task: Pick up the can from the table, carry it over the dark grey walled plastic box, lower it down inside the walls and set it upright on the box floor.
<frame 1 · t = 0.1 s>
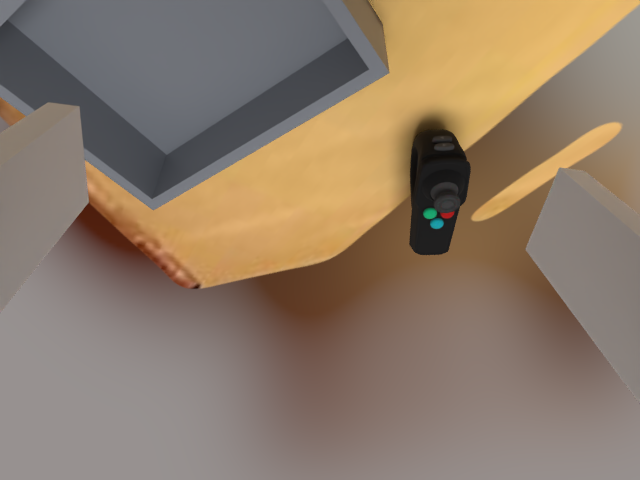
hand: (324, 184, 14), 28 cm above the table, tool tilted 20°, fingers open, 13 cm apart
controller: (426, 155, 49), on the table
box: (188, 16, 39), on the table
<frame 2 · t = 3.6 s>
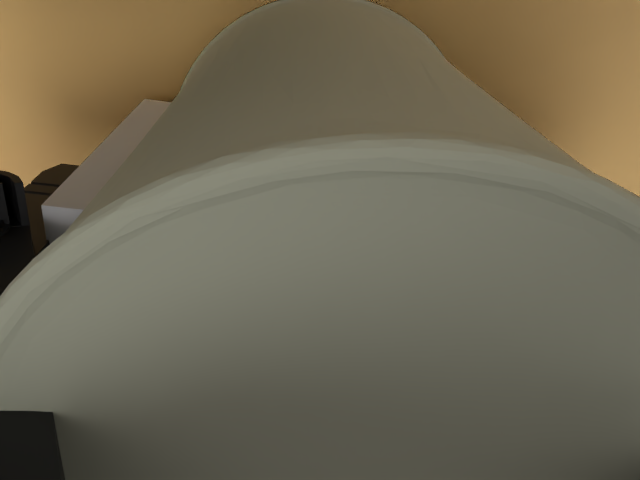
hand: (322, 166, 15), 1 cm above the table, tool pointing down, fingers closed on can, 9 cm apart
can: (320, 152, 16), on the table, touching gripper
when the fingers open (3 cm above the table, at t = 9.5 s): can drops 1 cm, resting on box.
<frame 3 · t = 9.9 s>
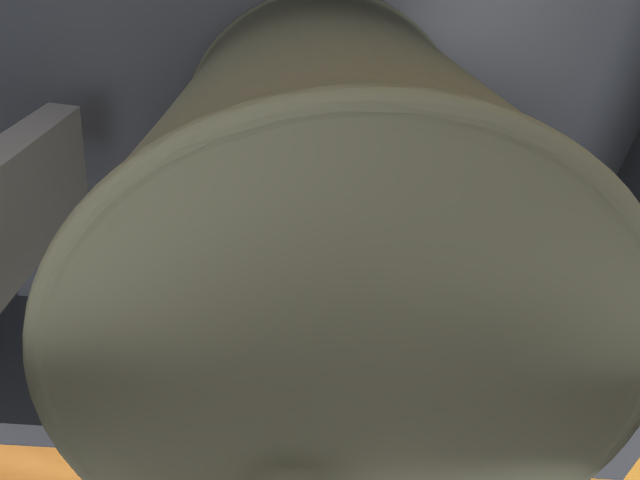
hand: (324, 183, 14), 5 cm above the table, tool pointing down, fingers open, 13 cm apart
can: (322, 136, 17), point 1 cm above the table, touching box
box: (318, 129, 18), on the table
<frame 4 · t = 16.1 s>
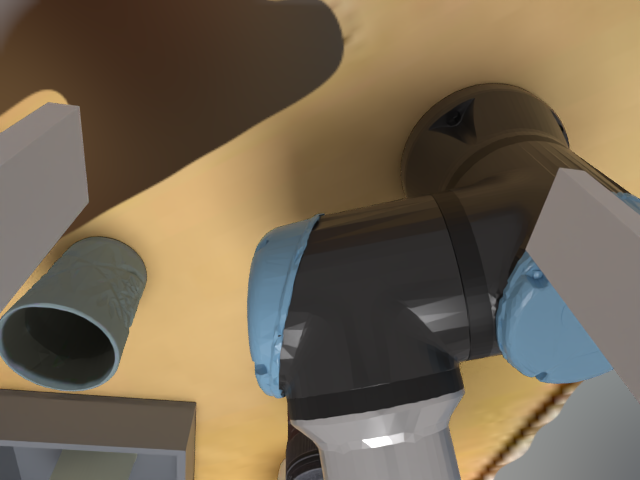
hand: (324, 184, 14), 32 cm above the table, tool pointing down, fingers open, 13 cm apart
can: (102, 448, 66), point 1 cm above the table, touching box
blue-grey textured cup: (104, 270, 53), on the table
camera lens: (320, 376, 62), on the table
foam cup: (301, 466, 71), on the table
box: (103, 442, 67), on the table
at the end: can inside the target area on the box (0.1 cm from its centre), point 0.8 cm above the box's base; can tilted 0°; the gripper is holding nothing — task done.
